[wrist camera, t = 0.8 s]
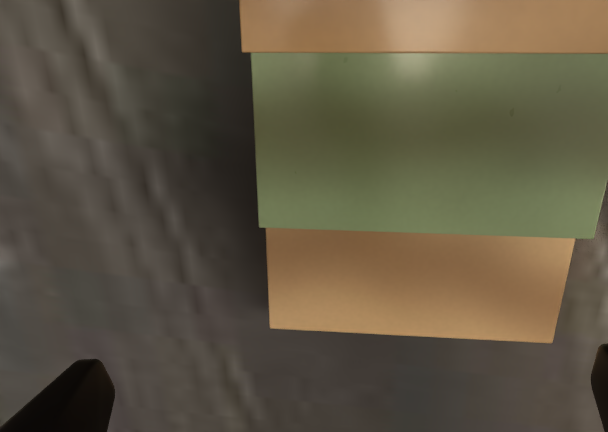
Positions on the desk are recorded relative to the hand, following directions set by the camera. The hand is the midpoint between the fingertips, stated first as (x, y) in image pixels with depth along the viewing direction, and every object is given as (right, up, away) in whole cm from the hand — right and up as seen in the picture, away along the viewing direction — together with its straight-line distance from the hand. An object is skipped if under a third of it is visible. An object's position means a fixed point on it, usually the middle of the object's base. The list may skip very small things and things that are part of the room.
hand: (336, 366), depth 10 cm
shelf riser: (+4, +6, +12) cm, 15 cm away
